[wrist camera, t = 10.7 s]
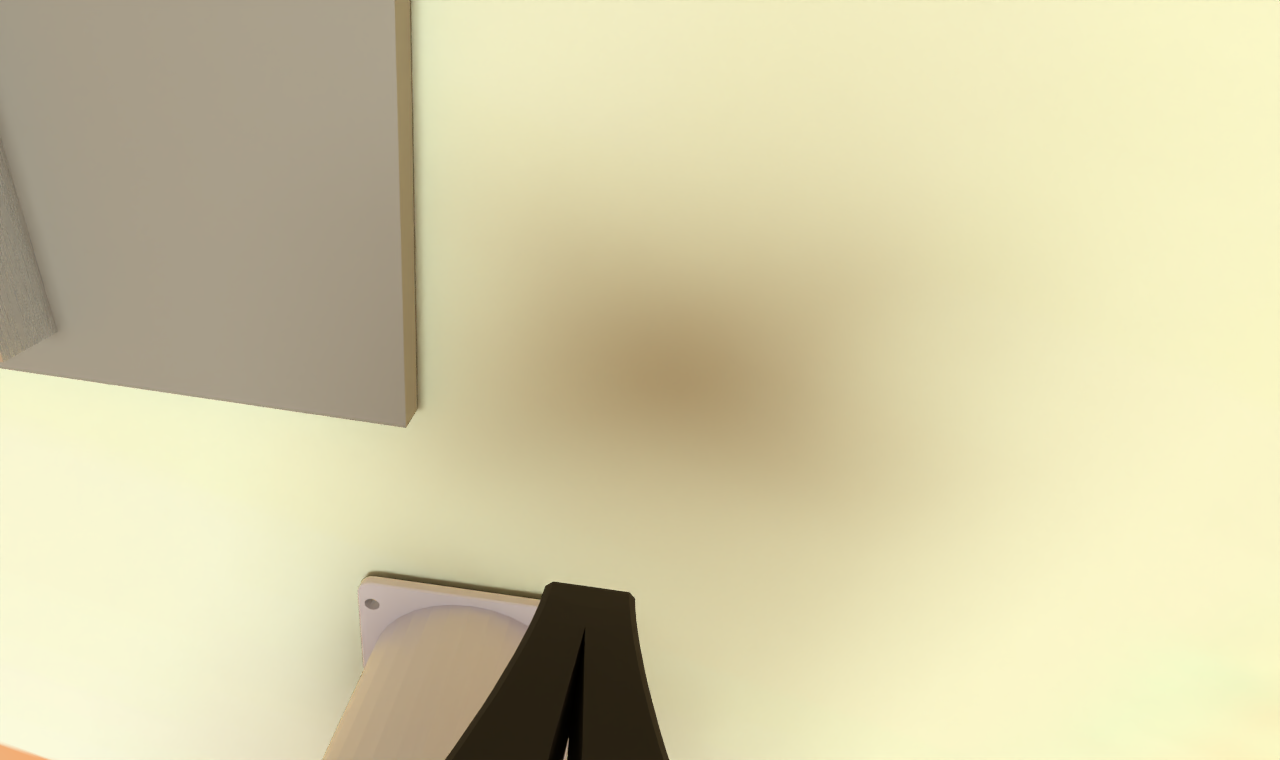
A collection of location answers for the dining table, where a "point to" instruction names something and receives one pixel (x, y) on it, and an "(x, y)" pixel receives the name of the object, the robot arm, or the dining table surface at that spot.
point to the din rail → (19, 277)
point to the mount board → (220, 196)
